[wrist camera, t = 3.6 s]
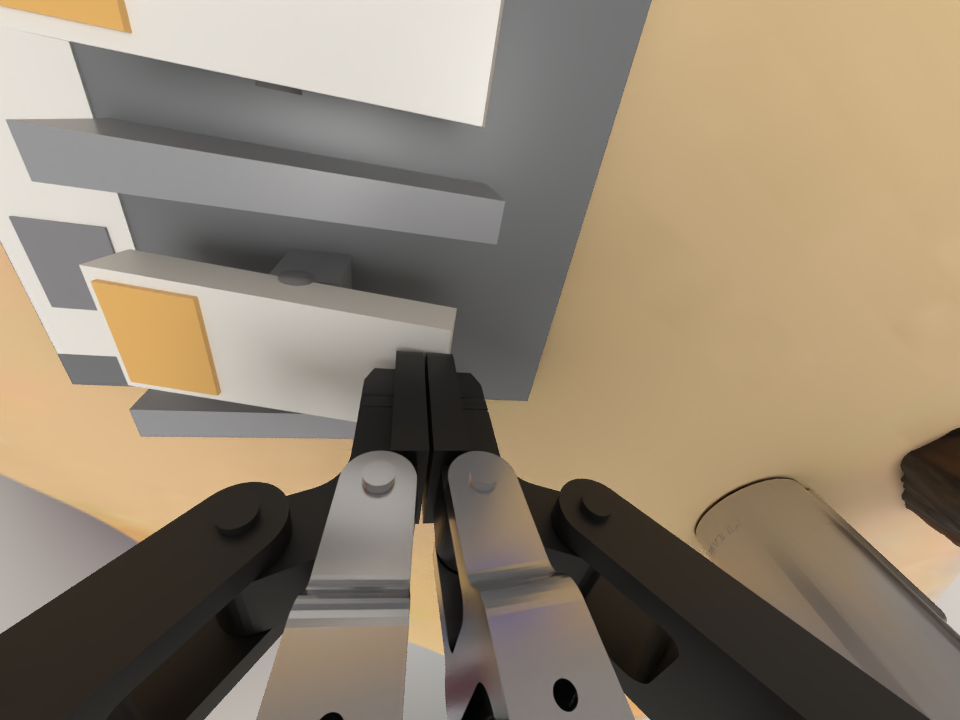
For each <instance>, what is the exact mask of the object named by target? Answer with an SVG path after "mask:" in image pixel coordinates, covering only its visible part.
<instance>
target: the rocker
mask: <svg viewBox="0 0 960 720" xmlns="http://www.w3.org/2000/svg"><path fill="white" fill-rule="evenodd" d="M79 266H80V269H81V271H82V274H83V276H84V279H85V281H86V283H87V286H88V288H89V291H90V293H91V296H92V298H93V300H94V303H95V305H96V308H97V310H98V313H99V315H100V318H101V320H102V322H103V325H104V327H105V330H106V332H107V335H108V337H109V339H110V342H111V344H112V347H113V349H114V352H115V354H116V357H117V359H118V361H119V364H120V366H121V369H122V371H123V374H124V376H125V378H126V381H127V383H128V385H130V386H136V387H142V388H149V389H155V390H161V391H167V392H173V393H179V394H186V395H192V396H198V397H204V398H210V399H217V400H223V401H229V402H235V403H241V404H247V405H254V406H260V407H266V408H272V409H278V410H285V411H291V412H297V413H303V414H309V415H315V416H322V417H328V418H334V419H340V420H346V421H352V422H357V418H358V412H359V408H360V400H361V396H362V389H363V383H364V379H365V378H366V377H367V376H368V375H369V374H370V372H371V371H372V370H373V369H374V368H384V369H395V362H396V351H411V352H423V353H424V367H425V358H426V352H428V353H442V354H450V350H451V344H452V337H453V331H454V324H455V318H456V311H457V308H452V307H447V306H441V305H436V304H430V303H425V302H419V301H414V300H408V299H403V298H397V297H392V296H386V295H381V294H375V293H369V292H364V291H358V290H353V289H347V288H342V287H336V286H331V285H325V284H320V283H315V278H314V275H313V274H312V273H310V272H307V271H302V270H288V271H283V272H281V273H279V274H278V276H275V275H270V274H264V273H259V272H253V271H248V270H242V269H237V268H231V267H226V266H220V265H215V264H209V263H203V262H198V261H192V260H187V259H181V258H176V257H170V256H165V255H159V254H154V253H148V252H143V251H137V250H132V249H128V250H125V251H121V252H118V253H115V254H112V255H109V256H105V257H102V258H99V259H96V260H92V261H89V262H86V263H83V264H80V265H79Z"/></svg>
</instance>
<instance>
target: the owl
mask: <svg viewBox="0 0 960 720" xmlns="http://www.w3.org/2000/svg"><path fill="white" fill-rule="evenodd" d="M901 469H902V471H903V472H904V476H903V477H902V478H901V481H902V482H904V486H903V487H904V488H905V490H904V492H903V493H902V499H903V500H904V501H905V503H906V504H905V505H906V508H908V509H910V510H911V511H913V512H914V513H915V514H917V515H918V516H919V517H920V518H921V519H922V520H924V521H925V522H926V523H927V524H928V525H930V526H931V527H932V528H934V529H935V530H936V531H938V532H939V533H941V534H943V535H945V536H946V537H947V538H948V539H949V540H951V541H952V542H953V543H954V544H955V545H956V546H959V547H960V428H957V429H955V430H953V431H951V432H949V433H948V434H946V435H944V436H943V437H941V438H939V439H938V440H936V441H934V442H931V443H930V444H927V445H925V446H923V447H921V448H919V449H916V450H913V451H911V452H910V453H908V454H907V455H906V456H905V457H904V458H903V460H902V463H901Z"/></svg>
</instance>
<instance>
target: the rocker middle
mask: <svg viewBox="0 0 960 720" xmlns="http://www.w3.org/2000/svg"><path fill="white" fill-rule="evenodd" d="M503 7H504V0H0V27H4V28H9V29H13V30H18V31H23V32H27V33H32V34H37V35H41V36H46V37H51V38H55V39H60V40H65V41H70V42H74V43H79V44H84V45H89V46H94V47H98V48H103V49H108V50H113V51H118V52H123V53H127V54H132V55H137V56H142V57H147V58H151V59H156V60H161V61H166V62H171V63H176V64H180V65H185V66H190V67H195V68H200V69H204V70H209V71H214V72H219V73H224V74H228V75H233V76H238V77H243V78H248V79H253V80H255V86H259V87H264V88H268V89H273V90H278V91H283V92H288V93H293V94H298V95H302V90H305V91H310V92H315V93H320V94H325V95H330V96H334V97H339V98H344V99H349V100H354V101H358V102H363V103H368V104H373V105H378V106H382V107H387V108H392V109H397V110H402V111H407V112H411V113H416V114H421V115H426V116H431V117H435V118H440V119H445V120H450V121H455V122H460V123H464V124H469V125H474V126H479V127H484V128H485V123H486V117H487V110H488V104H489V97H490V91H491V85H492V78H493V72H494V65H495V59H496V52H497V46H498V39H499V33H500V26H501V20H502V13H503Z"/></svg>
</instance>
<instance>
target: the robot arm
mask: <svg viewBox="0 0 960 720" xmlns="http://www.w3.org/2000/svg"><path fill="white" fill-rule="evenodd" d="M484 399H485V398H484V394H483V390H482V386H481V384H480V383H479V382H478V381H477V380H476V378H475V377H474V376H473V375H472V374H471V373H461V372H456V367H455V362H454V357H453V354H442V353H428V352H426V358H425V367H424V353H423V352H411V351H396V362H395V369H384V368H374V369H373V370H372V371H371V372H370V374H369V375H368V376H367V377H366V378H365V379H364V383H363V389H362V396H361V400H360V408H359V412H358V418H357V424H356V430H355V436H354V441H353V447H352V453H351V457H350V460H349V462H348V464H347V465H346V466H345V467H344V469H343V470H342V472H341V473H340V474H339V475H338V476H336V477H335V478H334V479H332V480H331V481H329V482H327V483H325V484H323V485H321V486H319V487H316V488H313V489H310V490H306V491H303V492H299V493H295V494H292V495H288V496H285V494H284V493H283V492H282V491H281V490H280V489H279V488H277V487H275V486H274V485H271V484H268V483H262V482H248V483H241V484H237V485H234V486H231V487H228V488H225V489H223V490H221V491H219V492H217V493H215V494H214V495H212V496H210V497H209V498H207V499H206V500H204V501H203V502H201V503H199V504H198V505H196V506H195V507H193V508H192V509H190V510H189V511H187V512H186V513H184V514H183V515H181V516H180V517H178V518H177V519H175V520H174V521H172V522H170V523H169V524H167V525H166V526H164V527H163V528H161V529H160V530H158V531H157V532H155V533H154V534H152V535H151V536H149V537H148V538H146V539H145V540H143V541H142V542H140V543H138V544H137V545H135V546H134V547H132V548H131V549H129V550H128V551H126V552H125V553H123V554H122V555H120V556H119V557H117V558H116V559H114V560H113V561H111V562H109V563H108V564H107V565H105V566H103V567H102V568H100V569H99V570H97V571H96V572H94V573H93V574H91V575H90V576H88V577H87V578H85V579H84V580H82V581H80V582H79V583H77V584H76V585H74V586H73V587H71V588H70V589H68V590H67V591H65V592H64V593H62V594H61V595H59V596H58V597H56V598H55V599H53V600H52V601H50V602H49V603H47V604H45V605H44V606H42V607H41V608H39V609H38V610H36V611H35V612H33V613H32V614H30V615H29V616H27V617H26V618H24V619H22V620H21V621H20V622H18V623H16V624H15V625H13V626H12V627H10V628H9V629H8V630H6V631H4V632H3V633H1V634H0V720H204V719H205V718H206V717H207V716H208V715H209V714H210V712H211V711H212V710H213V709H214V708H215V707H216V706H217V705H218V704H219V703H220V701H221V700H222V699H223V698H224V697H225V696H226V695H227V694H228V693H229V692H230V690H232V688H233V687H234V686H235V685H236V684H237V683H238V682H239V681H240V680H241V679H242V677H243V676H244V675H245V674H246V673H247V672H248V671H249V670H250V669H251V668H252V667H253V665H254V664H255V663H256V662H257V661H258V660H259V659H260V658H261V657H262V656H263V654H264V653H265V652H266V651H267V650H268V649H269V648H270V647H271V646H272V644H273V643H274V642H275V641H276V640H277V639H278V638H279V637H280V636H281V635H282V634H283V635H282V638H281V642H280V645H279V648H278V652H277V655H276V658H275V661H274V664H273V668H272V671H271V674H270V677H269V680H268V684H267V687H266V690H265V693H264V696H263V700H262V703H261V706H260V709H259V712H258V716H257V719H256V720H403V705H404V691H405V676H406V660H407V645H408V630H409V614H410V574H411V560H412V545H413V535H414V527H415V524H419V519H420V512H421V505H422V511H423V523H434V529H435V544H434V549H433V566H434V573H435V581H436V589H437V597H438V605H439V613H440V621H441V629H442V637H443V645H444V653H445V699H446V711H447V719H448V720H635V718H634V716H633V714H632V711H631V709H630V707H629V704H628V702H627V699H626V697H625V695H624V693H625V694H626V695H627V696H628V697H629V699H630V700H631V701H632V702H633V703H634V704H635V705H636V706H637V707H638V708H639V709H640V710H641V711H642V712H643V713H644V714H645V715H646V716H647V717H648V718H649V719H650V720H960V636H959V634H958V633H957V632H955V631H954V630H953V629H952V628H951V627H950V626H949V625H948V624H947V623H946V622H947V619H946V616H945V614H944V613H943V612H942V610H941V609H939V608H938V607H937V606H936V605H935V604H934V603H933V602H932V601H931V600H930V599H929V598H928V597H927V596H926V595H925V594H923V593H922V592H921V591H920V590H919V589H918V588H917V587H916V586H915V585H914V584H913V583H912V582H911V581H909V580H908V579H907V578H906V577H905V576H904V575H903V574H902V573H901V572H900V571H899V570H898V569H897V568H896V567H894V566H893V565H892V564H891V563H890V562H889V561H888V560H887V559H886V558H885V557H884V556H883V555H882V554H880V553H879V552H878V551H877V550H876V549H875V548H874V547H873V546H872V545H871V544H870V543H869V542H868V541H867V540H865V539H864V538H863V537H862V536H861V535H860V534H859V533H858V532H857V531H856V530H855V529H854V528H853V527H851V526H850V525H849V524H848V523H847V522H846V521H845V520H844V519H843V518H842V517H841V516H840V515H839V514H838V513H836V512H835V511H834V510H833V509H832V508H831V507H830V506H829V505H828V504H827V503H826V502H825V501H824V500H822V499H821V498H820V497H819V496H818V495H817V494H816V493H815V492H814V491H813V490H806V489H805V488H804V487H803V486H802V485H801V484H800V483H798V482H796V481H794V480H790V479H773V480H767V481H763V482H759V483H756V484H753V485H750V486H748V487H745V488H743V489H741V490H739V491H737V492H735V493H733V494H731V495H729V496H728V497H726V498H724V499H723V500H721V501H720V502H718V503H717V504H716V505H715V506H714V507H712V508H711V509H710V510H709V511H708V512H707V513H706V514H705V515H704V516H703V517H702V519H701V521H700V522H699V524H698V526H697V529H696V537H697V539H698V541H699V542H700V544H701V545H702V547H703V548H704V550H705V551H706V553H707V554H708V556H709V557H710V558H711V560H712V561H713V563H712V562H711V561H710V560H708V559H707V558H705V557H704V556H703V555H701V554H700V553H698V552H697V551H696V550H694V549H693V548H692V547H690V546H689V545H687V544H686V543H685V542H683V541H682V540H680V539H679V538H678V537H676V536H675V535H673V534H672V533H671V532H669V531H668V530H666V529H665V528H664V527H662V526H661V525H660V524H658V523H657V522H655V521H654V520H653V519H651V518H650V517H648V516H647V515H646V514H644V513H643V512H641V511H640V510H639V509H637V508H636V507H635V506H633V505H632V504H630V503H629V502H628V501H626V500H625V499H623V498H622V497H621V496H619V495H618V494H616V493H615V492H614V491H612V490H611V489H609V488H608V487H606V486H605V485H603V484H601V483H599V482H596V481H593V480H589V479H575V480H571V481H569V482H567V483H566V484H565V485H564V486H563V487H562V489H561V491H560V492H559V491H556V490H552V489H548V488H545V487H541V486H537V485H534V484H531V483H528V482H526V481H524V480H522V479H520V478H518V477H517V476H516V474H515V472H514V470H513V468H512V467H511V466H510V465H509V464H508V463H507V462H506V461H505V460H504V459H502V458H501V457H500V454H499V450H498V446H497V443H496V439H495V435H494V431H493V428H492V424H491V420H490V416H489V413H488V412H487V410H488V409H487V405H486V401H485V400H484Z"/></svg>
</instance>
